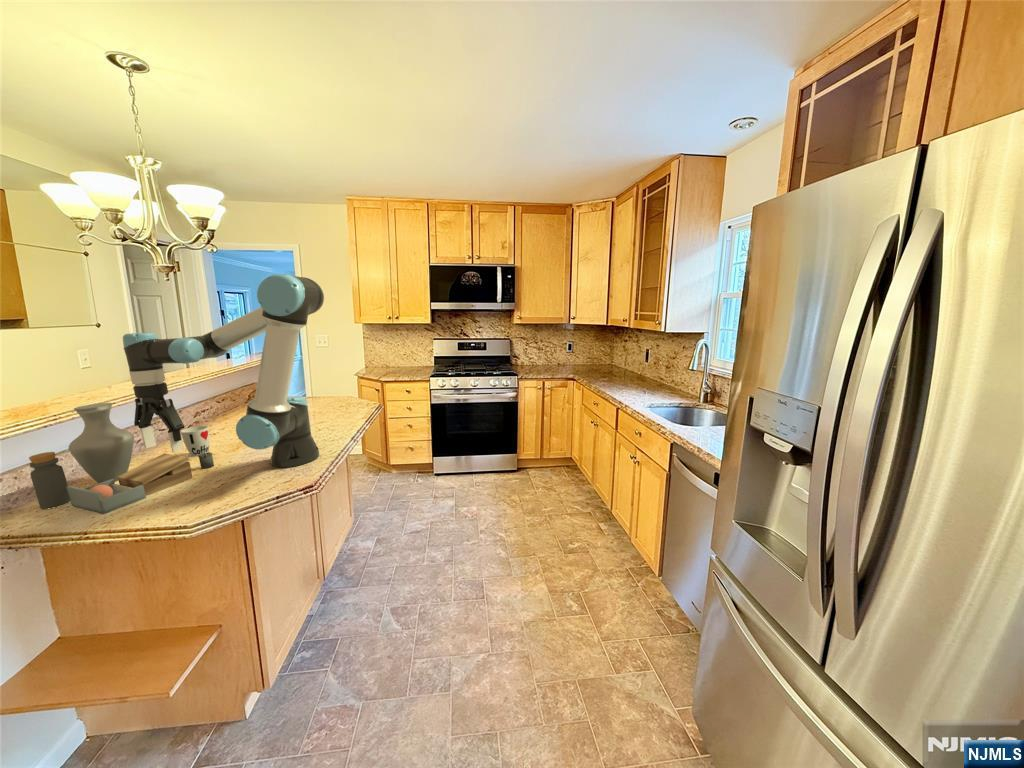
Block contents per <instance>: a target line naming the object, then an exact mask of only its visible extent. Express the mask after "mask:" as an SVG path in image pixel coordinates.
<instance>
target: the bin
mask: <svg viewBox="0 0 1024 768" xmlns="http://www.w3.org/2000/svg"><path fill="white" fill-rule="evenodd" d="M115 482H116V481H115ZM115 482H114V479H111V480H108V481H105V482H101V483H95V484H93V485H90V486H86V487H83V488H81V487H76V486H72V485H68V486H67V490H68V494H69V497H70V504H71V507H72V506H73V507H74V508H75V509H81V510H85V511H89V512H92V513H97V514H100V515H106V514H108V513H111V512H114V511H116V510H118V509H121V508H124V507H126V506H129V505H131V504H134V503H137V502H139V501H141V500H145V499H146V498H147V496H146V494H145V490H144V486H143V485H140V486H137V487H135V488H131V487H127V486H122V485H119V484H116V483H115ZM97 485H108V486H110V487H111V488H112V490H113V495H112V496H110V497H107V498H104V499H102V495H101V493H99V492H95V491H91V490H90V489H91V488H93V487H94V486H97Z"/></svg>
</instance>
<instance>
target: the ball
mask: <svg viewBox="0 0 1024 768" xmlns="http://www.w3.org/2000/svg"><path fill="white" fill-rule="evenodd" d="M90 490H91V491H95V492H99V493H101V495H102V499H104V498H107V497H110V496H112V495H113V490H112V488H111V487H110V486H108V485H97V486H94V487H93V488H91V489H90Z"/></svg>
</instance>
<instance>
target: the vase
mask: <svg viewBox="0 0 1024 768" xmlns="http://www.w3.org/2000/svg"><path fill="white" fill-rule="evenodd" d="M112 406H113V403H112V402H98V403H91V404H86V405H81V406H80V405H79V406H76V407H73V410H74V411H75V412H76V413H77V414H78V416H80V418H81V419H82V421H83V423H84V428H83V431H82V432H81V434H80V435H78V436H77V437H75V438H74V439H73V440H72V441H71V442H70V443H69V445H68V451H69V452H70V454H71V456H72V457H73V459H75V461H76V462H77V463H78V464H79V465H80V467H81V468H82V469H83V471H85V473H86V474H87V475H88V476H90V477H91V478H92V480H94V481H95V482H96V484H98V483H101V482H105V481H108V480H111V479H114V482H119V481H118V478H117V477H118V476H120V475H122V474H124V473H126V472H128V471H129V467H130V464H131V460H132V456H133V455H132V454H133V450H134V443H135V437H134V434H133V433H132V432H131V431H128V430H126V429H122V428H120V427H117V426H116V425H115V424H113V423H112V421H111V419H110V414H111V409H112Z"/></svg>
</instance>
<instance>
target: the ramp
mask: <svg viewBox="0 0 1024 768" xmlns="http://www.w3.org/2000/svg"><path fill="white" fill-rule="evenodd" d="M117 478H118V481H117V482H118V485H122V486H127V487H131V488H135V487H137V486H140V485H143V486H144V490H145V494H146V497H147V496H150V495H152V494H155V493H158V492H161V491H162V490H166V489H167V488H171V487H172V486H177V485H178V484H181V483H184V482H186V481H189V480H192V479H193V478H194V477H193V472H192V467H191V463H190V458H189V456H185V455H178V454H177V455H176V454H172V453H171V454H170V453H162V454H160V455H158V456H156V457H154V458H152V459H149V460H148V461H147V462H144V463H142V464H140V465H138V466H137V467H134V468H133V469H130V470H128V471H127V472H126V473H124V474H122V475H120V476H118V477H117Z"/></svg>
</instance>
